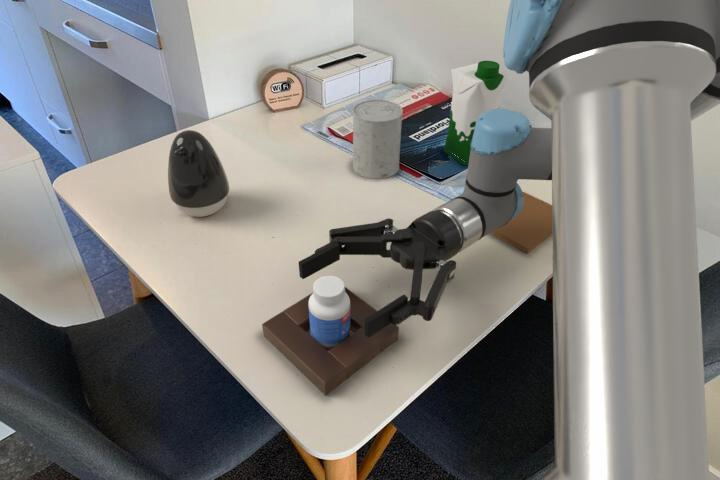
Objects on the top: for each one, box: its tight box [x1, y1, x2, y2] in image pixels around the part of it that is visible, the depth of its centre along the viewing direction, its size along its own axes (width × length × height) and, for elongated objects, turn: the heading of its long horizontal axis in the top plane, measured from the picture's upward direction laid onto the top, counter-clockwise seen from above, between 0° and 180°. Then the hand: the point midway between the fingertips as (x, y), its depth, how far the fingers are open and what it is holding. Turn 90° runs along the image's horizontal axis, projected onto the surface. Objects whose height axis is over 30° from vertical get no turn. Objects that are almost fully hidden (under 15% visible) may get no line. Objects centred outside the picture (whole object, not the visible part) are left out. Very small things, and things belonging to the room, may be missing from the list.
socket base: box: [261, 286, 400, 396], centre depth 70 cm, size 13×13×2 cm
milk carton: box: [443, 60, 509, 167], centre depth 105 cm, size 9×9×20 cm
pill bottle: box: [308, 275, 351, 351], centre depth 68 cm, size 6×5×10 cm
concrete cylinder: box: [352, 99, 404, 180], centre depth 103 cm, size 10×10×12 cm
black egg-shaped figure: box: [167, 129, 230, 218], centre depth 90 cm, size 10×10×15 cm
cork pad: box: [490, 190, 552, 254], centre depth 92 cm, size 14×12×1 cm
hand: (331, 298), depth 67 cm, fingers open, 13 cm apart
